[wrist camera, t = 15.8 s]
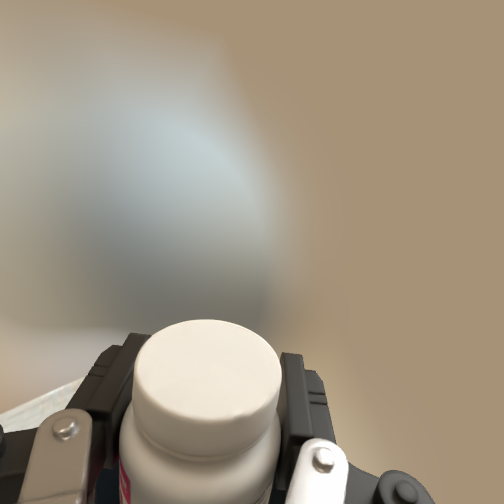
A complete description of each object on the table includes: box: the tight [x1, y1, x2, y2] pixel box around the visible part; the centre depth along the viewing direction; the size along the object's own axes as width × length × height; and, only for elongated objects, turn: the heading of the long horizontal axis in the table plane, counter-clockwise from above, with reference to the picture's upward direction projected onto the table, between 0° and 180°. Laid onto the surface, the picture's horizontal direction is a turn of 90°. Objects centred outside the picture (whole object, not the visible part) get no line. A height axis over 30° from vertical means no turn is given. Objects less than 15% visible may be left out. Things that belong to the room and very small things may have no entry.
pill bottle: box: [119, 320, 282, 504], centre depth 11 cm, size 5×5×8 cm
